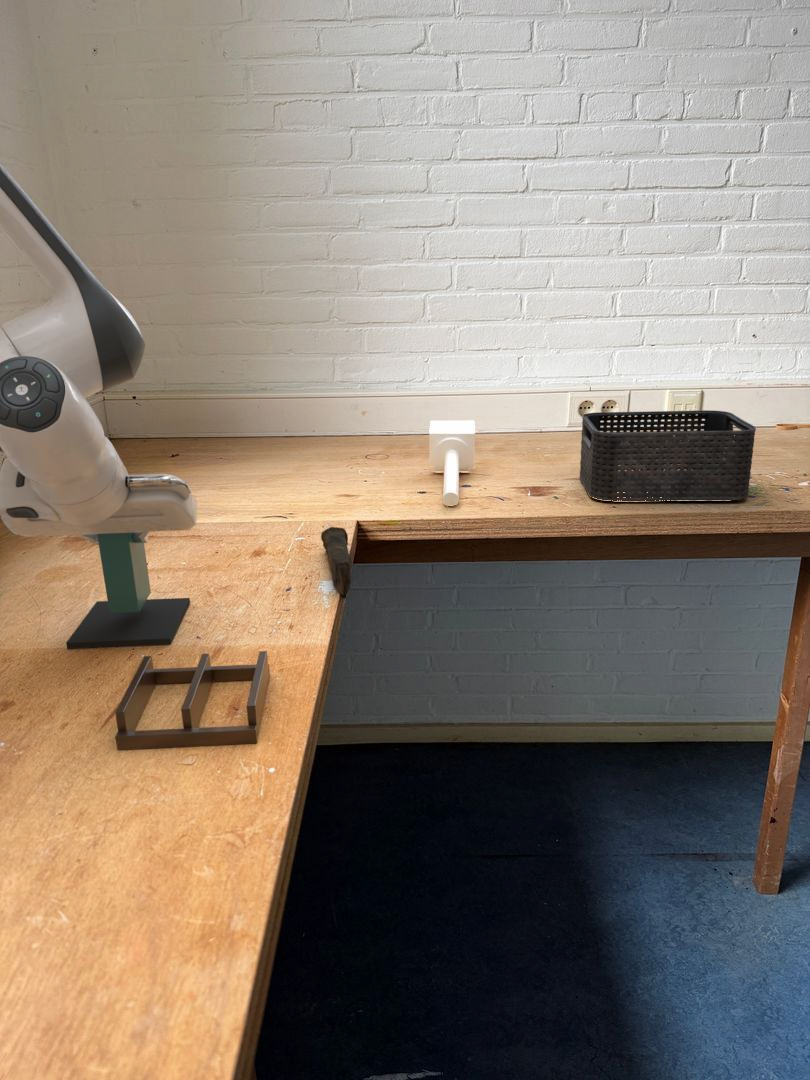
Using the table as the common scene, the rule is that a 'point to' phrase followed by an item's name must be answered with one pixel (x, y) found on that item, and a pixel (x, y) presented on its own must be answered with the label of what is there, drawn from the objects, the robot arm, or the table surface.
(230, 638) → the table surface
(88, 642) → the rubber mat
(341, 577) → the hand tool
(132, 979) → the table surface
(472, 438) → the paper towel holder
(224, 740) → the slot rack
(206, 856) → the table surface
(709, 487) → the storage bin
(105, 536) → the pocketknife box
